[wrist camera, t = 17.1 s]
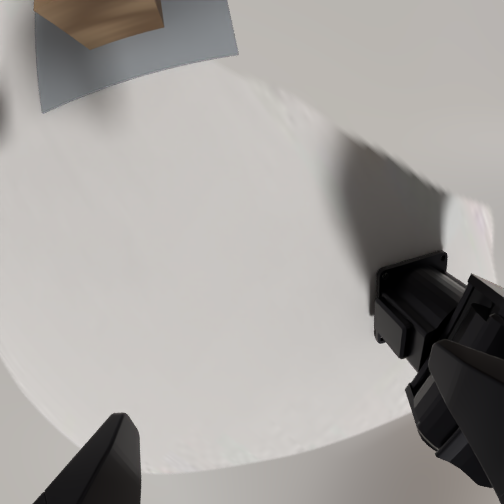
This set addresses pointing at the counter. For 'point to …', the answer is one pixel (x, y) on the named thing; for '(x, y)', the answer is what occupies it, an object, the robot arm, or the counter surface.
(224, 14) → the pad
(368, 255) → the counter surface
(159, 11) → the wooden block
